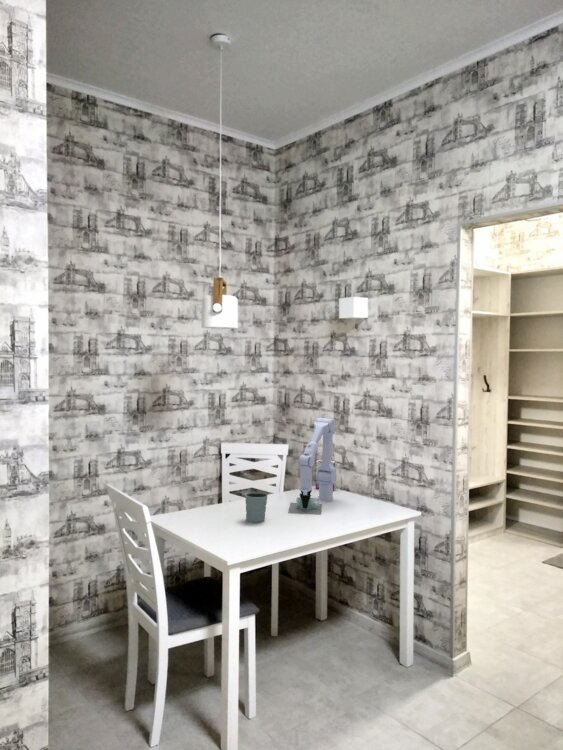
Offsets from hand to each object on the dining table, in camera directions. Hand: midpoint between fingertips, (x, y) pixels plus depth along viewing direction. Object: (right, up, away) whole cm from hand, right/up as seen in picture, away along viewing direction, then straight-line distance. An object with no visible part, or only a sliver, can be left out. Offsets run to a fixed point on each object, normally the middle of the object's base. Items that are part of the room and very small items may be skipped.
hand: (305, 506), depth 287 cm
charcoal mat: (0, -2, 0) cm, 2 cm away
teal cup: (-24, -2, -20) cm, 31 cm away
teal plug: (+1, -1, 0) cm, 2 cm away
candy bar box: (+13, -1, +44) cm, 46 cm away
